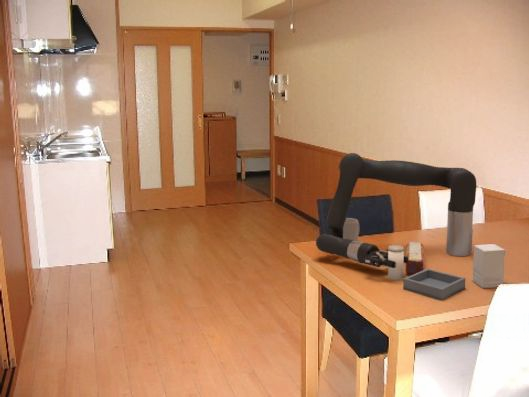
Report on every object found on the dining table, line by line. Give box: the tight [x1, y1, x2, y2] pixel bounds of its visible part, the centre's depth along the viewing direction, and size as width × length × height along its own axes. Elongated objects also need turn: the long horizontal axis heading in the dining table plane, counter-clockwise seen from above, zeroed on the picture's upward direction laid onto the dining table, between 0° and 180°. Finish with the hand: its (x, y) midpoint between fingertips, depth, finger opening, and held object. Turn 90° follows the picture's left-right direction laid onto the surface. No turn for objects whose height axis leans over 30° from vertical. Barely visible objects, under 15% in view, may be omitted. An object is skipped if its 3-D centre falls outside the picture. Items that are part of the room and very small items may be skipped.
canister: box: [387, 244, 405, 281], centre depth 188 cm, size 5×5×11 cm
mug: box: [343, 217, 360, 241], centre depth 228 cm, size 12×8×11 cm
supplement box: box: [472, 243, 506, 289], centre depth 180 cm, size 7×7×13 cm
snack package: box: [405, 241, 425, 276], centre depth 200 cm, size 21×7×7 cm, turn 165°
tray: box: [402, 268, 466, 301], centre depth 178 cm, size 14×14×4 cm
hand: (401, 262), depth 186 cm, fingers open, 6 cm apart
